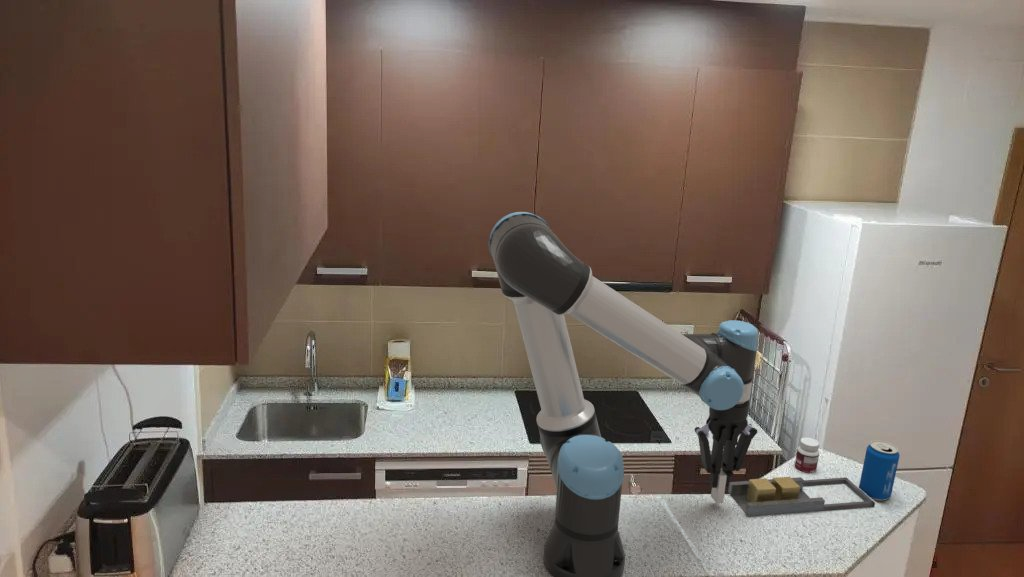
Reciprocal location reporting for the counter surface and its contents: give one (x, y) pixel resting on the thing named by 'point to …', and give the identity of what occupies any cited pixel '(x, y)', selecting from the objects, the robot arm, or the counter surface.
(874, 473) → the beverage can
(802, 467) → the pill bottle
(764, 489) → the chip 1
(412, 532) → the counter surface
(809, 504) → the slot rail
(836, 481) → the tray
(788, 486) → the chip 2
